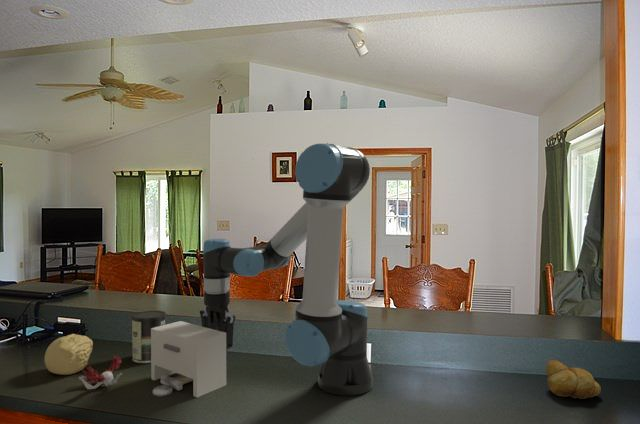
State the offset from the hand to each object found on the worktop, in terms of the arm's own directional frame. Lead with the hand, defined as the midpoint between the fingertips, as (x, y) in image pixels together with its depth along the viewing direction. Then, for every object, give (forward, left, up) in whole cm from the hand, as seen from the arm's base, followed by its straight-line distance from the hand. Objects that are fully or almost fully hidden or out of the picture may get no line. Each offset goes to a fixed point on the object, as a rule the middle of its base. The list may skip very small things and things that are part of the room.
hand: (217, 368), depth 140 cm
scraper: (0, +8, 0) cm, 8 cm away
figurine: (+17, +27, -1) cm, 32 cm away
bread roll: (-88, -45, -1) cm, 99 cm away
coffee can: (+26, +6, -1) cm, 26 cm away
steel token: (0, +19, 0) cm, 19 cm away
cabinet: (0, +11, 0) cm, 11 cm away
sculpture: (+35, +27, -1) cm, 44 cm away
